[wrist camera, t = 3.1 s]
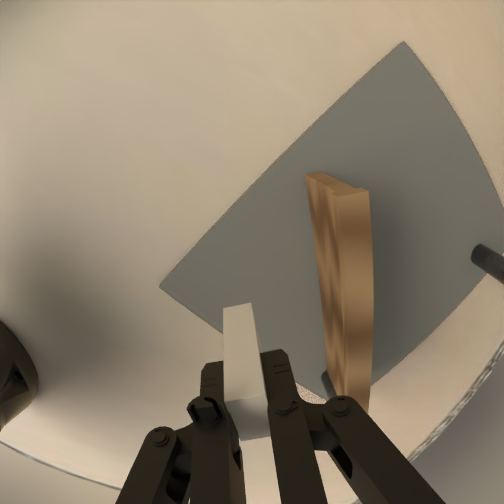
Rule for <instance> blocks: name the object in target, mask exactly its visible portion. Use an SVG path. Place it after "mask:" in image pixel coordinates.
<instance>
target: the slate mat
mask: <svg viewBox="0 0 504 504" xmlns="http://www.w3.org/2000/svg"><path fill="white" fill-rule="evenodd" d="M319 171H320V172H322V173H324V174H327V175H329V176H331V177H333V178H335V179H337V180H340V181H342V182H344V183H346V184H348V185H350V186H352V187H354V188H363V189H365V190H367V191H368V192H369V203H370V216H371V231H372V251H373V289H374V313H373V350H372V370H371V384H370V386H371V385H373V384H374V383H375V382H376V381H378V380H379V379H380V378H381V377H383V376H384V375H385V374H386V373H387V372H389V371H390V370H391V369H392V368H393V367H394V366H396V365H397V364H398V363H399V362H400V361H401V360H403V359H404V358H405V357H406V356H407V355H408V354H409V353H410V352H412V351H413V350H414V349H415V348H416V347H417V346H418V345H419V344H420V343H421V342H422V341H423V340H424V339H426V338H427V337H428V336H429V335H430V334H431V333H432V332H433V331H434V330H435V329H436V328H437V327H438V326H439V325H440V324H441V323H442V322H443V321H444V320H445V319H446V318H447V317H448V316H449V315H450V314H451V313H452V312H453V310H454V309H455V308H456V307H457V306H458V305H459V304H460V303H461V302H462V301H463V300H464V299H465V298H466V296H467V295H468V294H469V293H470V292H471V291H472V290H473V289H474V287H475V286H476V285H477V284H478V283H479V282H480V281H481V279H482V278H483V277H484V276H485V275H486V273H487V272H485V271H484V270H482V269H481V268H479V267H478V266H476V265H475V264H473V263H472V261H471V254H472V251H473V249H474V248H475V246H477V245H478V244H483V245H485V246H486V247H488V248H490V249H491V250H493V251H495V252H497V253H498V254H500V255H502V253H503V252H504V209H503V206H502V204H501V201H500V199H499V196H498V194H497V192H496V189H495V187H494V185H493V183H492V180H491V178H490V176H489V174H488V172H487V170H486V168H485V166H484V164H483V161H482V159H481V157H480V156H479V154H478V152H477V150H476V148H475V146H474V144H473V142H472V140H471V139H470V137H469V135H468V133H467V131H466V130H465V128H464V126H463V124H462V123H461V121H460V119H459V118H458V116H457V114H456V113H455V111H454V109H453V108H452V106H451V105H450V103H449V102H448V100H447V98H446V97H445V95H444V94H443V92H442V91H441V89H440V88H439V86H438V85H437V84H436V82H435V81H434V79H433V78H432V76H431V75H430V74H429V72H428V71H427V70H426V68H425V67H424V66H423V64H422V63H421V62H420V60H419V59H418V58H417V56H416V55H415V54H414V53H413V51H412V50H411V49H410V47H409V46H408V45H407V44H406V43H405V41H403V42H401V43H400V44H399V45H397V46H396V47H395V48H394V49H393V50H392V51H391V52H390V53H388V54H387V55H386V56H385V57H384V58H383V59H382V60H381V61H379V62H378V63H377V64H376V65H375V66H374V67H373V68H372V69H371V70H370V71H368V72H367V73H366V74H365V75H364V76H363V77H362V78H361V79H360V80H359V81H358V82H357V83H355V84H354V85H353V86H352V87H351V88H350V89H349V90H348V91H347V92H346V93H345V94H344V95H343V96H342V97H340V98H339V99H338V100H337V101H336V102H335V103H334V104H333V105H332V106H331V107H330V108H329V109H328V110H327V111H326V112H325V113H324V114H323V115H322V116H321V117H320V118H319V119H317V120H316V121H315V122H314V123H313V124H312V125H311V126H310V127H309V128H308V129H307V130H306V131H305V132H304V133H303V134H302V135H301V136H300V137H299V138H298V139H297V140H296V141H295V142H294V143H293V144H292V145H291V146H290V147H289V148H288V149H287V150H286V151H285V152H284V153H283V154H282V155H281V156H280V157H279V158H278V159H277V160H276V161H275V162H274V163H273V164H272V165H271V166H270V167H269V168H268V169H267V170H266V171H265V172H264V173H263V174H262V175H261V176H260V177H259V178H258V179H257V180H256V181H255V182H254V183H253V184H252V185H251V187H250V188H249V189H248V190H247V191H246V192H245V193H244V194H243V195H242V196H241V197H240V198H239V199H238V200H237V201H236V202H235V203H234V204H233V205H232V206H231V207H230V208H229V209H228V211H227V212H226V213H225V214H224V215H223V216H222V217H221V218H220V219H219V220H218V221H217V222H216V223H215V224H214V225H213V227H212V228H211V229H210V230H209V231H208V232H207V233H206V234H205V235H204V236H203V237H202V238H201V239H200V241H199V242H198V243H197V244H196V245H195V246H194V247H193V248H192V249H191V250H190V251H189V253H188V254H187V255H186V256H185V257H184V258H183V259H182V260H181V261H180V262H179V264H178V265H177V266H176V267H175V268H174V269H173V270H172V271H171V273H170V274H169V275H168V276H167V277H166V278H165V279H164V280H163V281H162V283H161V284H160V286H159V288H161V289H162V290H163V291H165V292H166V293H167V294H169V295H170V296H171V297H173V298H174V299H175V300H177V301H178V302H179V303H181V304H182V305H183V306H185V307H186V308H187V309H189V310H190V311H191V312H193V313H194V314H196V315H197V316H198V317H200V318H201V319H202V320H204V321H205V322H207V323H208V324H209V325H211V326H212V327H214V328H215V329H217V330H218V331H219V332H221V333H222V334H223V308H227V307H232V306H237V305H242V304H246V303H251V304H252V308H253V312H254V317H255V321H256V325H257V330H258V334H259V338H260V342H261V348H262V352H267V351H272V350H277V349H282V350H283V351H284V352H286V353H287V354H288V357H289V361H290V365H291V369H292V372H293V376H294V380H295V382H297V383H298V384H300V385H301V386H303V387H305V388H306V389H308V390H310V391H311V392H313V393H315V394H316V395H318V396H320V397H321V398H323V399H325V400H326V401H328V400H329V399H328V396H327V393H326V391H325V388H324V386H323V383H322V380H321V375H322V373H323V372H324V371H325V370H327V363H326V349H325V337H324V325H323V315H322V304H321V294H320V285H319V276H318V267H317V259H316V251H315V243H314V235H313V228H312V220H311V213H310V206H309V199H308V193H307V186H306V180H305V174H307V173H313V172H319Z"/></svg>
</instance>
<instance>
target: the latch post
mask: <svg viewBox="0 0 504 504" xmlns="http://www.w3.org/2000/svg"><path fill="white" fill-rule="evenodd" d="M471 261H472V263H473V264H475V265H476V266H478V267H479V268H481V269H482V270H484V271H485V272H487V273H488V274H489V275H491V276H492V277H494V278H495V279H497V280H498V281H499V282H501V283H502V284H504V257H503V256H501V255H500V254H498V253H497V252H495V251H493V250H491V249H490V248H488V247H486V246H485V245H483V244H478V245H477V246H475V248H474V249H473V251H472V254H471Z"/></svg>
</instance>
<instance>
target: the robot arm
mask: <svg viewBox="0 0 504 504" xmlns="http://www.w3.org/2000/svg"><path fill="white" fill-rule="evenodd" d="M223 358H224V361H218V362H212V363H206V365H205V366H204V368H203V370H202V371H201V385H200V387H201V388H200V396H198V397H196V398H195V399H193V400H192V401H191V402H190V403H189V404H188V407H187V411H188V413H189V415H190V417H191V419H192V420H193V422H192V423H191V424H190V425H188V426H186V427H184V428H181V429H178V430H175V431H174V430H173V429H172V428H169V427H166V426H165V427H158V428H155V429H153V430H152V431H150V432H149V433H148V435H147V436H146V438H145V440H144V442H143V444H142V446H141V449H140V451H139V453H138V455H137V457H136V459H135V462H134V464H133V466H132V468H131V470H130V472H129V475H128V477H127V479H126V481H125V483H124V486H123V488H122V490H121V492H120V494H119V497H118V499H117V501H116V503H115V504H188V501H189V498H190V504H246V494H245V483H244V471H243V459H242V451H241V448H240V446H239V438H240V441H245V440H251V439H257V438H263V437H268V436H271V440H272V447H273V453H274V459H275V466H276V472H277V479H278V485H279V491H280V498H281V504H328V502H327V498H326V494H325V491H324V487H323V483H322V479H321V475H320V471H319V467H318V463H317V460H316V456H315V452H314V450H322V451H327V452H328V454H329V455H330V457H331V458H332V460H333V461H334V463H335V464H336V466H337V467H338V469H339V470H340V472H341V473H342V475H343V476H344V478H345V479H346V481H347V482H348V483H349V485H350V486H351V488H352V489H353V491H354V492H355V494H356V495H357V496H358V498H359V499H360V501H361V502H362V504H446V503H445V502H444V501H443V500H442V499H441V498H440V497H439V496H438V494H437V493H436V492H435V491H434V490H433V489H432V488H431V487H430V486H429V484H428V483H427V482H426V481H425V480H424V479H423V477H422V476H421V475H420V474H419V473H418V472H417V470H416V469H415V468H414V467H413V466H412V465H411V464H410V462H409V461H408V460H407V459H406V458H405V457H404V456H403V454H402V453H401V452H400V451H399V450H398V449H397V448H396V446H395V445H394V444H393V443H392V442H391V441H390V439H389V438H388V437H387V436H386V435H385V434H384V433H383V431H382V430H381V429H380V428H379V427H378V426H377V424H376V423H375V422H374V421H373V420H372V419H371V417H370V416H369V415H368V414H367V413H366V412H365V410H364V409H363V408H362V407H361V406H360V405H359V403H358V402H357V401H356V400H355V399H353V398H352V397H349V396H346V395H340V396H336V397H332V398H331V399H329V400H328V401H327V402H326V403H325V404H312V403H308V402H306V401H304V400H302V398H301V397H300V396H299V394H298V391H297V387H296V384H295V380H294V376H293V372H292V369H291V365H290V361H289V357H288V354H287V353H286V352H284V351H283V350H282V349H277V350H272V351H267V352H262V348H261V342H260V338H259V334H258V330H257V325H256V321H255V317H254V312H253V308H252V304H251V303H246V304H242V305H237V306H232V307H227V308H223ZM37 389H38V377H37V373H36V370H35V367H34V365H33V363H32V361H31V359H30V357H29V355H28V354H27V352H26V351H25V349H24V348H23V346H22V345H21V344H20V342H19V341H18V340H17V339H16V337H15V336H14V335H13V334H12V333H11V332H10V331H9V330H8V329H7V328H6V327H5V326H4V325H3V324H2V323H1V322H0V431H1V430H2V428H3V427H4V426H5V425H6V424H7V423H8V422H10V421H11V420H12V419H13V418H14V417H16V416H17V415H18V414H19V413H21V412H22V411H23V410H24V409H25V408H27V407H28V406H29V404H30V403H31V402H32V400H33V398H34V396H35V394H36V392H37Z"/></svg>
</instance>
